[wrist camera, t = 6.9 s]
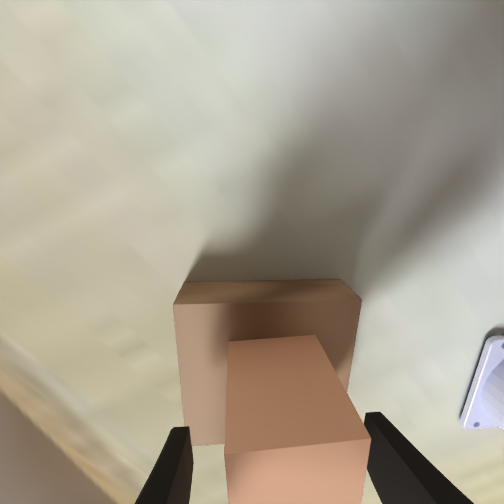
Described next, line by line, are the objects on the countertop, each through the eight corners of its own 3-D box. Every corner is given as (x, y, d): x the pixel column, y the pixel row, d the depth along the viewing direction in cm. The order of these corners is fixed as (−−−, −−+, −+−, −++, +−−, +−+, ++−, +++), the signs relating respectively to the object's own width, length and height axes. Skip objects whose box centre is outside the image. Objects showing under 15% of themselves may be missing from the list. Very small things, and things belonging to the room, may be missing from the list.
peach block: (315, 334, 12) (371, 438, 7) (311, 402, 13) (357, 528, 8) (227, 341, 12) (224, 454, 7) (232, 409, 13) (232, 545, 8)
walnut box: (336, 275, 14) (362, 299, 11) (322, 392, 17) (340, 435, 14) (185, 278, 14) (172, 304, 11) (194, 399, 16) (186, 446, 13)
